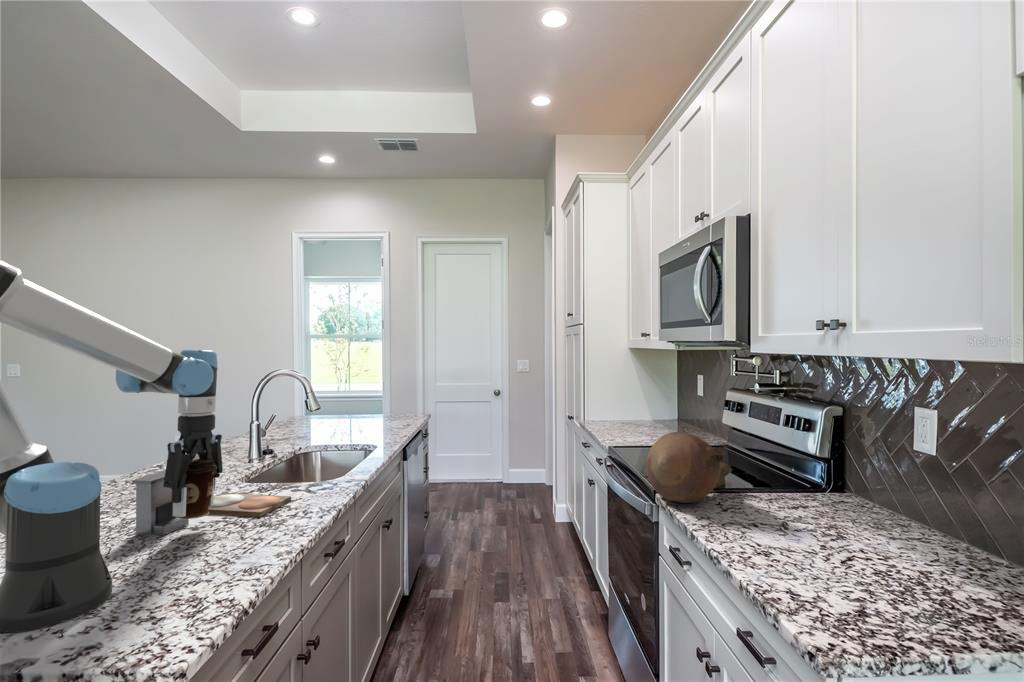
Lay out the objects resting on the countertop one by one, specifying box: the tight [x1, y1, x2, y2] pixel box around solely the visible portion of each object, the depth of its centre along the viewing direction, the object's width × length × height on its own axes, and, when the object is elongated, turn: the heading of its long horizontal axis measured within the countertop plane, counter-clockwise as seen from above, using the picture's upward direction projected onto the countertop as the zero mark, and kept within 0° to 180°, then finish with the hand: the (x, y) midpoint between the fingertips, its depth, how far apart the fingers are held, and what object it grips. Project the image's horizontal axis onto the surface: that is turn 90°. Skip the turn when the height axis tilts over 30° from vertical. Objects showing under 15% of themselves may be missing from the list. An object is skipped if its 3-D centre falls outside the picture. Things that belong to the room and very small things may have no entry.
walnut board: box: [208, 492, 292, 518], centre depth 131 cm, size 13×21×2 cm, turn 81°
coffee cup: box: [178, 459, 217, 519], centre depth 114 cm, size 9×8×13 cm
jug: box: [643, 431, 733, 504], centre depth 139 cm, size 20×20×30 cm
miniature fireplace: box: [132, 469, 190, 536], centre depth 116 cm, size 9×8×13 cm
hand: (193, 510), depth 114 cm, fingers closed on coffee cup, 8 cm apart
